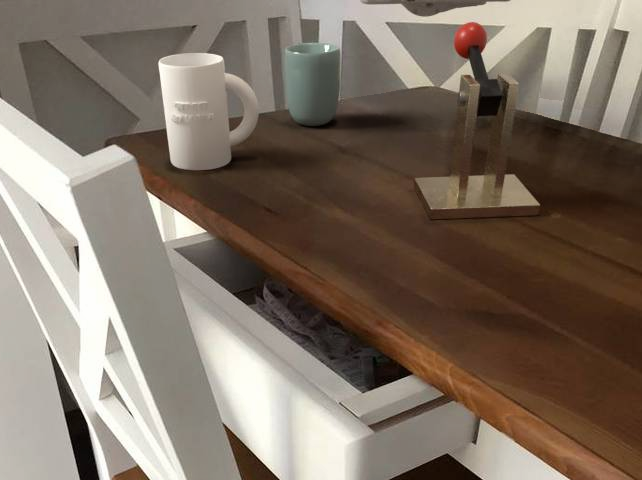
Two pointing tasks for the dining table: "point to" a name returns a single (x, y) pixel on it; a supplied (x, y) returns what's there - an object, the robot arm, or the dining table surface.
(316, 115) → the cup
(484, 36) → the switch
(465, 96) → the bracket
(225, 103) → the mug
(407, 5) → the robot arm
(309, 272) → the dining table surface
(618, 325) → the dining table surface
